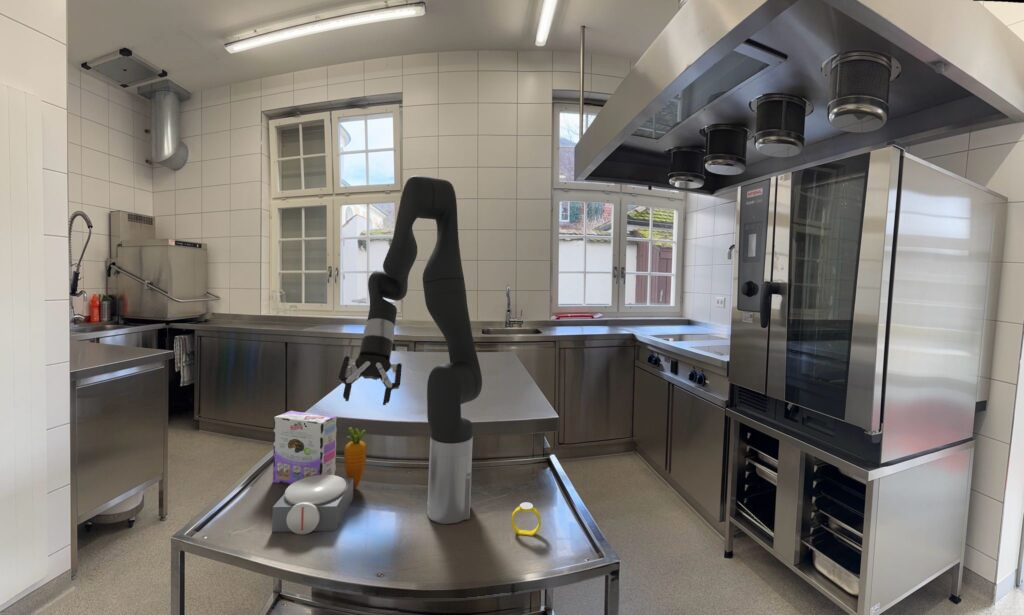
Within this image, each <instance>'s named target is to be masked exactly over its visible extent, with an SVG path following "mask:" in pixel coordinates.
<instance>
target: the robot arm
mask: <svg viewBox="0 0 1024 615" xmlns="http://www.w3.org/2000/svg"><path fill="white" fill-rule="evenodd" d="M397 211H398V212H397V216H396V222H395V225H394V231H393V237H392V238H391V243H390V246H389V248H388V250H387V253H386V255H385V258H384V260H383V262H382V269H383V270H378V269H377V270H375V271H373V272H371V274H370V275H369V277H368V281H367V288H368V290H367V291H368V296H369V297H368V298H369V310H368V316H367V320H366V324H365V326H364V330H363V334H362V339H361V344H360V347H359V352H358V356H357V358H350V357H349V355H346V356H345V357H344V358H343V361H342V364H341V368H340V371H339V374H338V382H339V383H341V384H344V388H343V395H342V397H343V399H344V400H345V402H349V401H350V396H351V392H352V385H353V384H354V383H355V382H357V381H358V380H359V379H361V377H362V378H363V379H365V380H367V379H372V380H374V381H378V380H379V379H380V381H381V383H382V384H383V385H384V387H385V390H384V395H383V401H382V406H386V405H387V404H389V402H390V400H391V395H392V391H393V390H399V388H400V385H401V380H402V377H401V376H402V366H403V365H402V363H401V362H399V363H396V364H395V363H391V361H390V360H391V355H392V349H393V344H394V339H395V338H394V337H395V325H396V320H397V314H398V308H397V306H396V305H395V304H393V303H392V302H390V301H388V300H391V301H395V302H397V301H401V300H403V299H404V298H405V297H406V296H407V293H408V283H409V282H408V281H409V276H410V272H411V271H412V268H413V265H414V264H415V261H416V259H417V257H418V244H417V241H416V238H415V235H414V231H413V227H414V226H413V225H414V223H415V222H416V220H417V219H423V220H424V219H425V220H435V222H436V231H437V232H436V242H435V245H434V248H433V250H432V253H431V255H430V256H429V259H428V260H427V262H426V265H425V267H424V270H423V273H422V286H423V287H422V288H423V293H424V294H423V295H424V302H425V306H426V308H427V311H428V313H429V314H430V317H431V318H432V320H433V321H434V322H435V325H436V326H437V328H439V330H440V332H441V334H442V335H443V338H444V339H445V343H446V346H447V350H448V355H449V356H448V357H449V362H448V363H442V364H438V365H436V366H435V367H434V368H432V370H431V371H430V373H429V375H428V379H427V385H426V402H427V403H426V405H427V406H426V407H427V410H426V411H427V413H426V415H427V416H426V418H427V423H428V426H429V430H430V432H429V433H430V434H429V435H430V438H429V456H428V457H429V460H428V462H429V463H428V481H427V482H428V487H427V488H428V489H427V503H426V505H427V510H426V511H427V516H428V518H429V520H431V521H432V522H435V523H437V524H444V525H448V524H449V525H451V524H457V523H459V522H463V521H466V520H470V518H471V516H470V515H471V494H472V492H471V491H472V464H473V463H472V462H473V444H474V442H473V440H474V424H473V422H472V421H471V420H470V419H468V418H465V417H462V408H461V406H462V405H463V404H466V403H469V402H472V401H475V400H476V399H477V398H478V397H479V396H480V394H481V391H482V388H483V377H482V371H481V366H480V362H479V356H478V354H477V350H476V346H475V341H474V338H473V336H474V335H473V331H472V324H471V319H470V313H469V307H468V300H467V291H466V290H467V289H466V283H465V282H466V281H465V276H464V271H463V264H462V257H461V249H460V239H459V224H458V204H457V195H456V191H455V188H454V185H453V184H452V183H451V182H450V181H449V180H447V179H444V178H443V179H442V178H438V177H430V176H425V175H424V176H423V175H412V176H410V177H409V178H408V179H407V180H406V182H405V184H404V187H403V188H402V192H401V197H400V202H399V206H398V210H397ZM386 299H388V300H386ZM353 365H355V367H356V370H355V371H354V372H353V373H352V374H351V375H350V376H349V377H346V376H347V372H348V369H349V368H351V367H352V366H353ZM390 370H392V373H393V374H395V376H394V382H391V380H390V378H389V376H388V374H387V372H388V371H390Z"/></svg>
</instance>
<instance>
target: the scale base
mask: <svg viewBox="0 0 1024 615" xmlns="http://www.w3.org/2000/svg"><path fill="white" fill-rule="evenodd" d="M342 478H343V479H344V480H345V482H346V489H345V491H344V492H343V493H342V494H341V495H340V496H339V497H337V498H335V499H333V500H331V501H328V502H325V503H322V504H317V505H313V504H311V503H307V502H302V503H298V504H296V505H294V504H291V503H289V502H287V501H286V499H285V493H284V494H283V495H282V496H281V497H280V498H279V499H278V500H277V502H276V503H275V504H274V505H273V506H272V518H271V520H272V522H271V526H272V527H271V532H272V533H275V532H276V533H278V532H281V533H284V532H286V533H288V532H293V533H294V534H297V535H306V534H309V533H311V532H336V531H337V530H338V528H339V526H340V524H341V522H342V520H343V518H344V516H345V515H346V512H347V511H348V509H349V507H350V505H351V504H352V502H353V500H354V489H353V478H347V477H342ZM301 479H303V478H298V479H297V480H296V481H298V480H301ZM296 481H295V482H296Z"/></svg>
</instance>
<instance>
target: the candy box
mask: <svg viewBox="0 0 1024 615" xmlns="http://www.w3.org/2000/svg"><path fill="white" fill-rule="evenodd" d="M337 419H338V416H336V415H326V414H319V413H312V412H303V411H295V410H289V411H286V412H284V413H281V414H279V415H276V416H273V468H272V470H273V472H272V475H273V476H272V477H273V478H272V481H273V483H276V484H283V485H288V486H290V485H291V484H292V483H294V482H295V481H296V480H297V479H298V478H307V477H311V476H316V475H335V476H336V467H337V466H336V465H337V464H336V463H337V461H336V460H337V429H338V427H337V426H338V420H337ZM304 423H305V425H306V426H307V427H305V425H304Z"/></svg>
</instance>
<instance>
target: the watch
mask: <svg viewBox="0 0 1024 615" xmlns="http://www.w3.org/2000/svg"><path fill="white" fill-rule="evenodd" d="M519 512H523V513H530V512H532V513H533V514H534V515H536V516H535V517H537V519H538V523H537V525H536V527H535V528H534V529H532V530H528V529H527V530H526V529H519V527H517V525H516V524H515V523H516V522H515V516H516V515H517V513H519ZM541 519H542V518H541V514H540V512H539V511H538V509H536V507H534V505H533V504H532V503H531V502H525V501H524V502H522V503H520V504H519V506H517V507H516V508H515V509H514V511H513V512H512V515H511V520H510V524H511V527H512V529H513V532H515V533H516V534H517V535H518V536H519V535H521V536H528V537H529V536H530V537H534V535H536V534H537V533H538V532H539V531H540V529H541V523H542V520H541Z"/></svg>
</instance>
